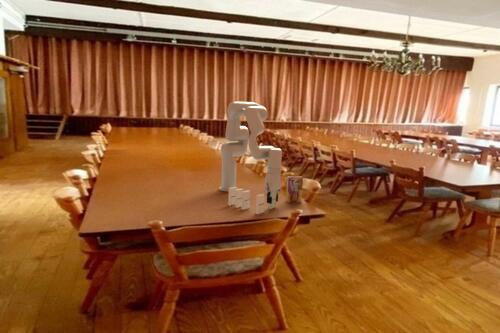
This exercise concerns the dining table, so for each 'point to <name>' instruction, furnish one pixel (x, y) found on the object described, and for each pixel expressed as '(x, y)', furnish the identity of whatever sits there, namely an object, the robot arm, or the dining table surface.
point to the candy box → (294, 189)
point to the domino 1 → (231, 196)
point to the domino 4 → (260, 203)
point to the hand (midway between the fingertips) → (272, 201)
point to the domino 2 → (238, 197)
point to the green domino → (273, 200)
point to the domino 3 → (245, 200)
